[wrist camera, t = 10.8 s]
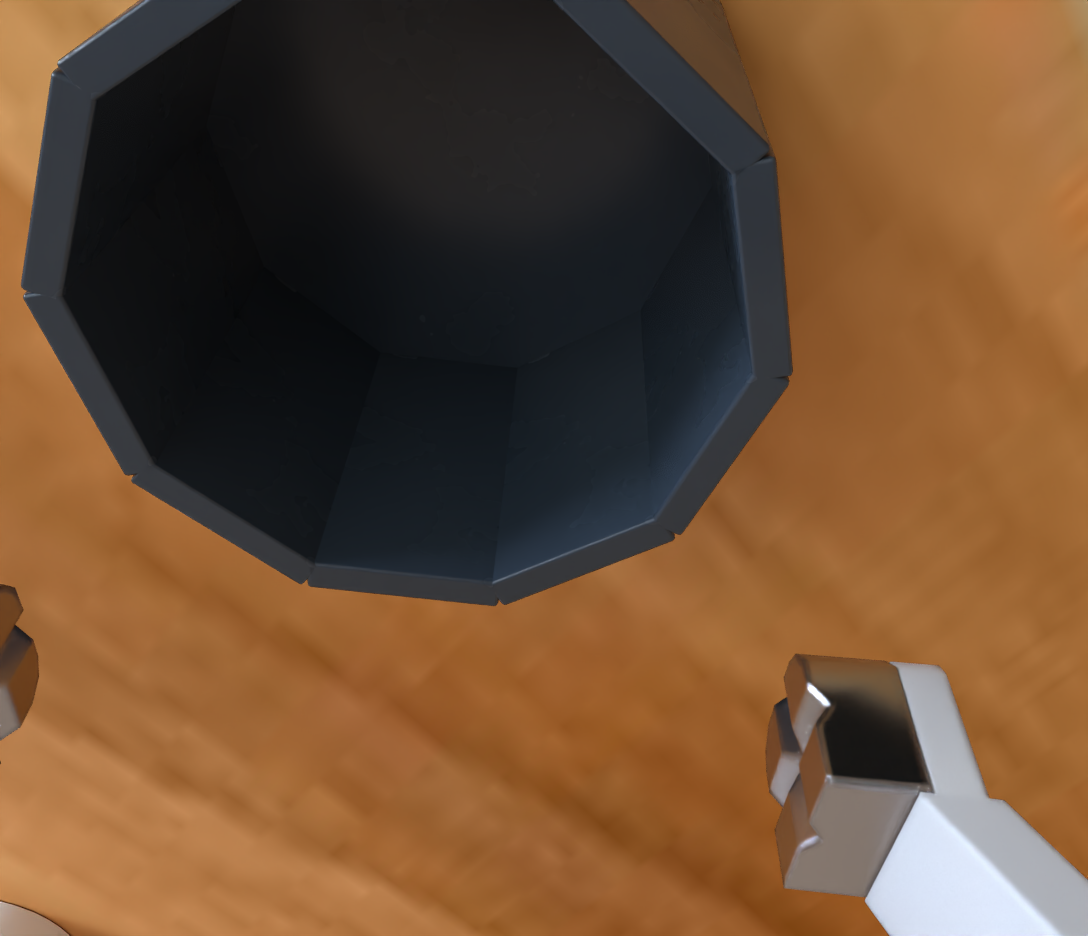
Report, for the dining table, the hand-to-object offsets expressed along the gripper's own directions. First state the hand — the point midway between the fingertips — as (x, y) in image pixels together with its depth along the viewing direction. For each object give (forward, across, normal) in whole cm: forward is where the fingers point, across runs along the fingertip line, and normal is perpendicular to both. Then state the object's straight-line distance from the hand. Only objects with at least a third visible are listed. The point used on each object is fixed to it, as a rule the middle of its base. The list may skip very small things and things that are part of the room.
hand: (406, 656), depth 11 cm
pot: (+10, +1, +5) cm, 11 cm away
